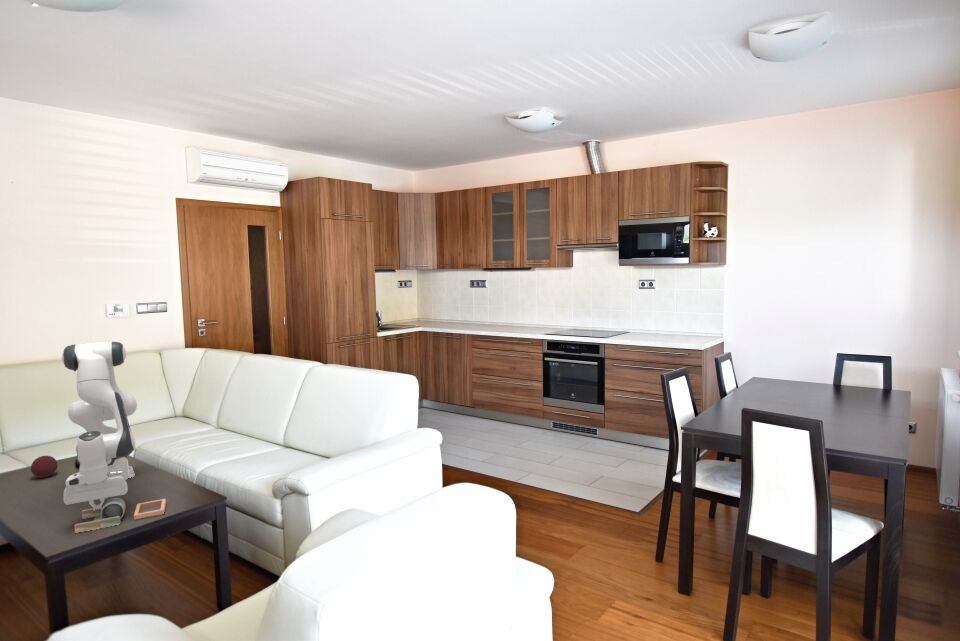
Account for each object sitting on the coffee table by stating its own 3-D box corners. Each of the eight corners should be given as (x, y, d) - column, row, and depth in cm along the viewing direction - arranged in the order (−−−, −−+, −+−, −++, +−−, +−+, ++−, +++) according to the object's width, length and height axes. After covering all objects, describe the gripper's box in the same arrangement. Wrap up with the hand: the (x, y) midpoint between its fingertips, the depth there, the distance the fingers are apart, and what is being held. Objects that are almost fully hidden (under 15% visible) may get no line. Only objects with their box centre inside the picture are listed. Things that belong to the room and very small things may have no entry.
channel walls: (83, 517, 221) (82, 510, 221) (125, 509, 227) (124, 502, 227) (75, 533, 208) (74, 525, 208) (120, 524, 214) (119, 517, 214)
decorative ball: (29, 482, 260) (26, 461, 259) (35, 475, 269) (33, 454, 268) (55, 478, 264) (53, 457, 263) (61, 471, 273) (58, 451, 272)
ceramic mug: (127, 512, 225) (124, 493, 224) (125, 520, 217) (122, 501, 216) (95, 519, 220) (92, 500, 219) (92, 527, 213) (89, 508, 212)
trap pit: (137, 508, 228) (137, 503, 228) (166, 503, 232) (165, 498, 232) (134, 520, 217) (133, 515, 217) (164, 514, 221) (163, 509, 221)
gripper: (127, 467, 223) (131, 501, 224) (64, 477, 214) (68, 512, 215) (125, 472, 217) (128, 507, 218) (60, 483, 208) (64, 519, 210)
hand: (98, 509), depth 217 cm, fingers closed
